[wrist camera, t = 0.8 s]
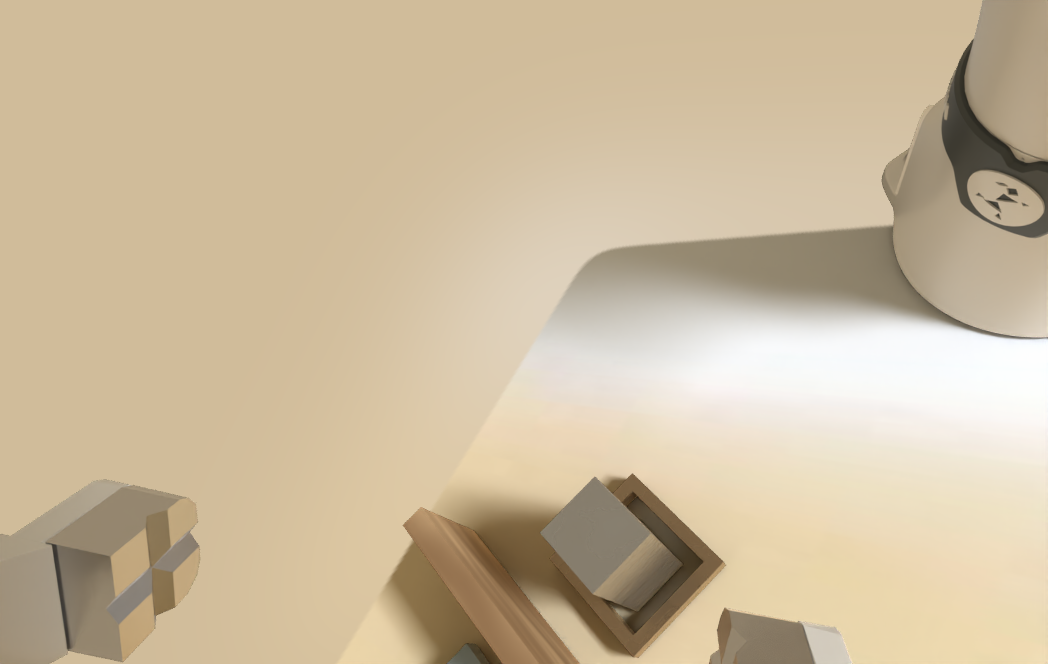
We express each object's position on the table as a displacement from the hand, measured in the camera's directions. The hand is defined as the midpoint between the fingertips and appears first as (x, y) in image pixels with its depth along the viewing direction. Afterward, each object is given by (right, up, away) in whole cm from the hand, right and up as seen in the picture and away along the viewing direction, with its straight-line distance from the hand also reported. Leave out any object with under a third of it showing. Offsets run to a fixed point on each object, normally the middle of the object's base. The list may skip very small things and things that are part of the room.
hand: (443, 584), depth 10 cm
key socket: (+8, -11, +33) cm, 35 cm away
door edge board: (+1, -14, +34) cm, 37 cm away
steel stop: (+8, -11, +33) cm, 35 cm away
